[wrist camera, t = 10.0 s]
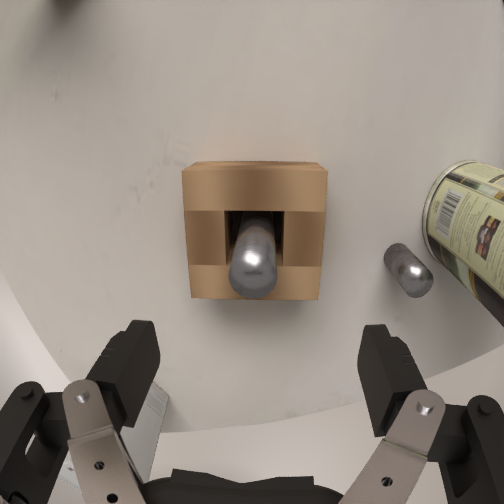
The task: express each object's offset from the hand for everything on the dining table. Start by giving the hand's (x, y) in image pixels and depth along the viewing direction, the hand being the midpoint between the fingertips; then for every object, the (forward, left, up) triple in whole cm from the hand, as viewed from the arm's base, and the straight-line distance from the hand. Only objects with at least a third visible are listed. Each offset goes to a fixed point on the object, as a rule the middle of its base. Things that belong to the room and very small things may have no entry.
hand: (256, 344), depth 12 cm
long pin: (0, 0, -15) cm, 15 cm away
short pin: (-12, +3, -15) cm, 19 cm away
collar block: (0, 0, -15) cm, 15 cm away
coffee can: (-19, -1, -15) cm, 24 cm away
